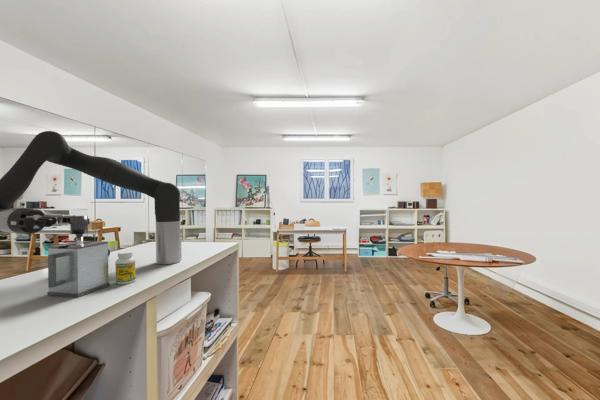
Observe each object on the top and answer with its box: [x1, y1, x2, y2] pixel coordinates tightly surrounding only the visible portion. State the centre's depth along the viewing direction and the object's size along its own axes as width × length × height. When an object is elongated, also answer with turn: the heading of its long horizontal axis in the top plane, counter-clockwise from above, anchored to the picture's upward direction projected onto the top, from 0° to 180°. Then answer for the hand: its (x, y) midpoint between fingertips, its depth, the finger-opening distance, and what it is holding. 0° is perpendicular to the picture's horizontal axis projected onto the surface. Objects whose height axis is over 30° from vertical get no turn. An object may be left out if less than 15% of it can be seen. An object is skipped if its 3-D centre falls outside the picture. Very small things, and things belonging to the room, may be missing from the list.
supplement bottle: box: [115, 250, 137, 285], centre depth 87 cm, size 5×5×10 cm
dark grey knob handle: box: [69, 215, 89, 245], centre depth 79 cm, size 7×7×18 cm
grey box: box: [46, 240, 111, 298], centre depth 78 cm, size 13×10×14 cm
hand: (66, 221), depth 80 cm, fingers open, 8 cm apart
